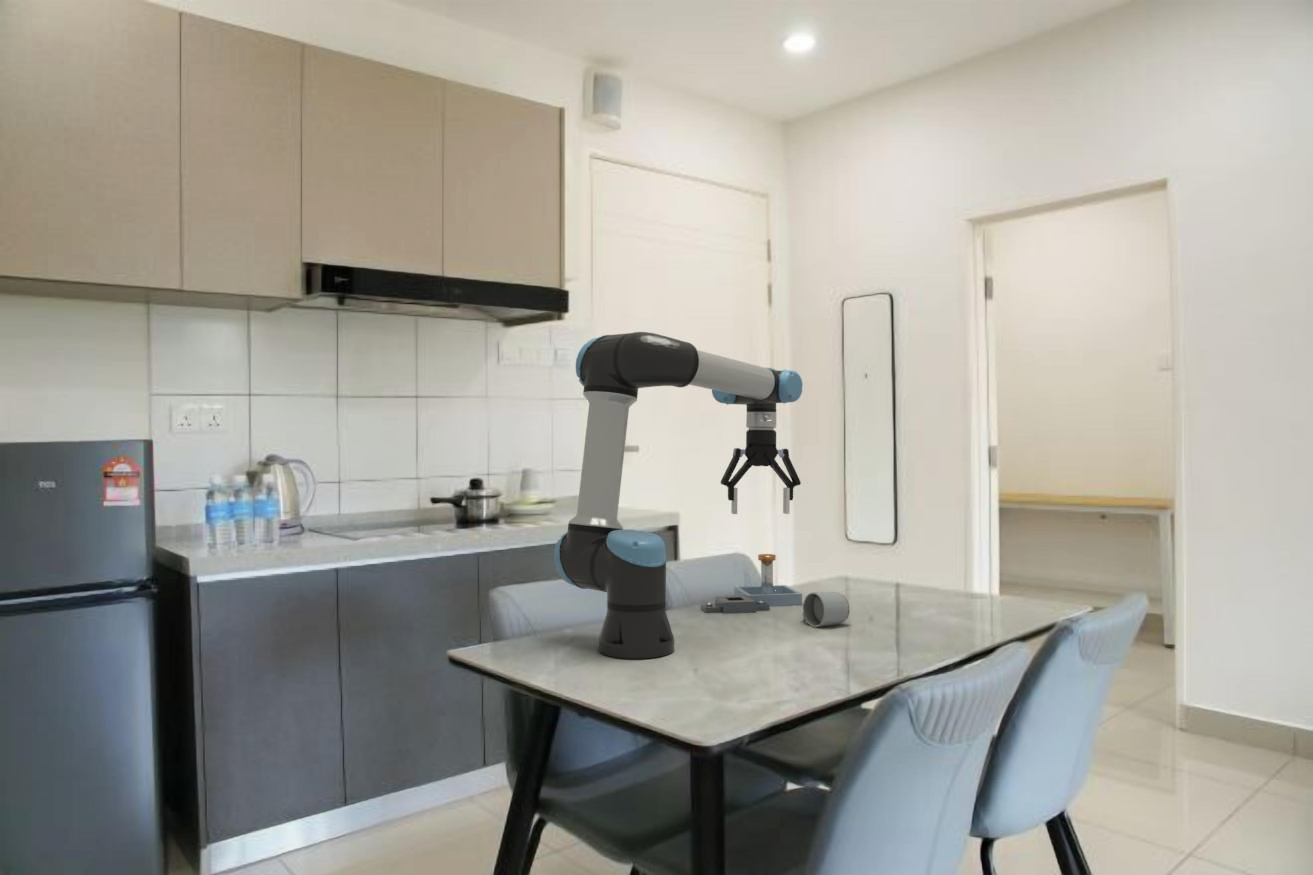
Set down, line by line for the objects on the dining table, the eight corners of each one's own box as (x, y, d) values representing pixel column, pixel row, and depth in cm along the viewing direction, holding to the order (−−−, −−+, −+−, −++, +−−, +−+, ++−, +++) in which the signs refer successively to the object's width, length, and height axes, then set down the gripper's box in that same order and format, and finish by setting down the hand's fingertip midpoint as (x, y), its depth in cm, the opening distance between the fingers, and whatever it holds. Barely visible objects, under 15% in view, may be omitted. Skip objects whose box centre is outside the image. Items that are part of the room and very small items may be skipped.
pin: (761, 600, 229) (761, 556, 229) (756, 597, 234) (756, 554, 234) (778, 599, 230) (777, 555, 230) (772, 596, 235) (772, 553, 235)
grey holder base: (706, 613, 216) (706, 603, 216) (699, 607, 224) (699, 597, 224) (771, 611, 219) (771, 600, 219) (761, 605, 227) (761, 594, 227)
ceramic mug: (852, 625, 203) (851, 591, 203) (824, 630, 198) (823, 594, 198) (820, 618, 212) (820, 585, 212) (793, 622, 208) (792, 588, 208)
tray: (748, 606, 224) (748, 595, 224) (734, 597, 237) (734, 586, 237) (802, 604, 227) (801, 593, 227) (785, 595, 240) (785, 585, 240)
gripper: (716, 428, 222) (716, 515, 222) (813, 429, 226) (812, 514, 226) (709, 428, 229) (708, 512, 229) (803, 430, 234) (802, 512, 234)
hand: (760, 513), depth 228 cm, fingers open, 13 cm apart
